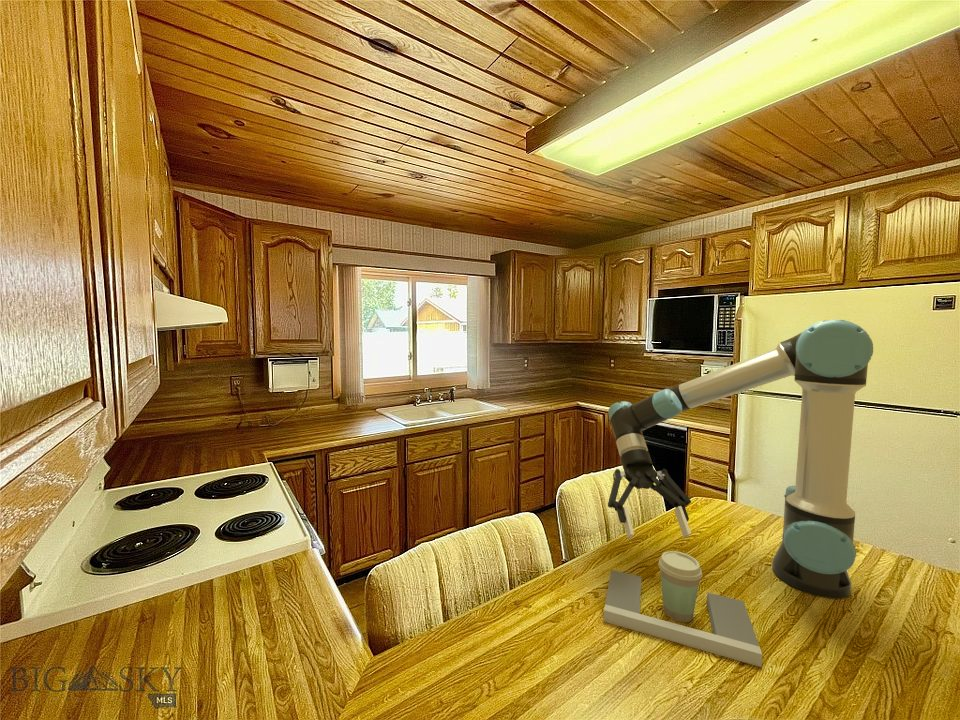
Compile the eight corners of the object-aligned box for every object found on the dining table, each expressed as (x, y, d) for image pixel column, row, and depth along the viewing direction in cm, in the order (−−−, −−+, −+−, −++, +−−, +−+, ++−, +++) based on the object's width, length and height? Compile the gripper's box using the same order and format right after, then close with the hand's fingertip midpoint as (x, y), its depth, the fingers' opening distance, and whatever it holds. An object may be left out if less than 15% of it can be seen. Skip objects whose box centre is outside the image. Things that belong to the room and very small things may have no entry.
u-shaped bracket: (743, 611, 87) (743, 600, 87) (761, 667, 72) (762, 654, 72) (610, 579, 98) (611, 569, 98) (603, 621, 83) (604, 610, 83)
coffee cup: (706, 629, 81) (709, 574, 81) (662, 624, 83) (664, 569, 82) (692, 602, 90) (694, 551, 89) (652, 597, 91) (654, 548, 91)
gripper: (673, 460, 110) (703, 540, 96) (585, 460, 109) (602, 541, 95) (684, 447, 104) (718, 530, 90) (592, 447, 103) (611, 531, 89)
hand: (659, 536), depth 92 cm, fingers open, 13 cm apart
